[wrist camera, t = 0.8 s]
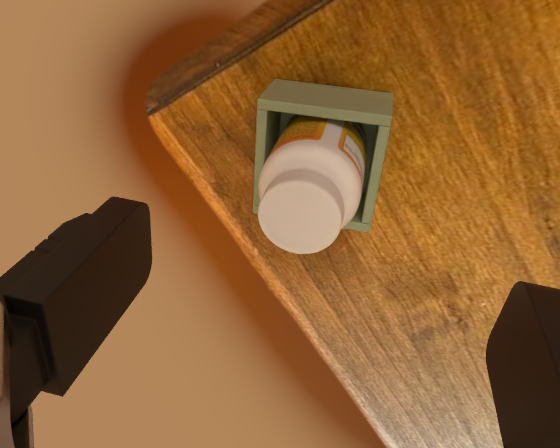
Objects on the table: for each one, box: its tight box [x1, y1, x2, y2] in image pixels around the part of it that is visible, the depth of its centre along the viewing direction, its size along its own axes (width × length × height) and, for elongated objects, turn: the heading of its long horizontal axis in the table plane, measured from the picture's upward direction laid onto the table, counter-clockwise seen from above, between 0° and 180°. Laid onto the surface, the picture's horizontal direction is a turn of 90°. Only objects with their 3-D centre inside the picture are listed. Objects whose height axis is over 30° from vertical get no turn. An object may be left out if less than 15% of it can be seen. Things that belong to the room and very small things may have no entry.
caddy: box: [253, 79, 393, 233], centre depth 29 cm, size 7×7×4 cm
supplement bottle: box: [258, 114, 367, 254], centre depth 26 cm, size 5×5×10 cm
